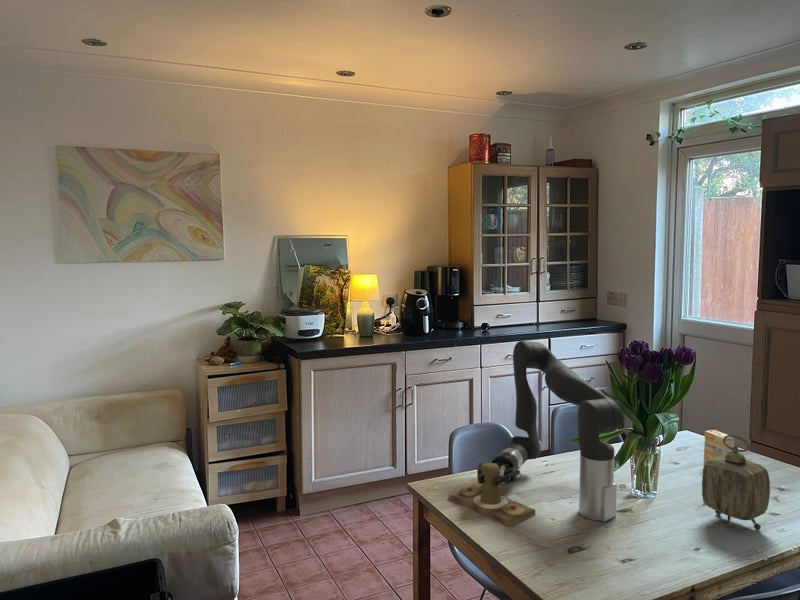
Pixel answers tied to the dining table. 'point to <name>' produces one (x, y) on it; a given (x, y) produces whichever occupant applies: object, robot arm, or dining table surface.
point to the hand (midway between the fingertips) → (487, 482)
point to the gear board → (492, 506)
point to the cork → (490, 484)
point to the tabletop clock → (736, 485)
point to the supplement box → (716, 444)
